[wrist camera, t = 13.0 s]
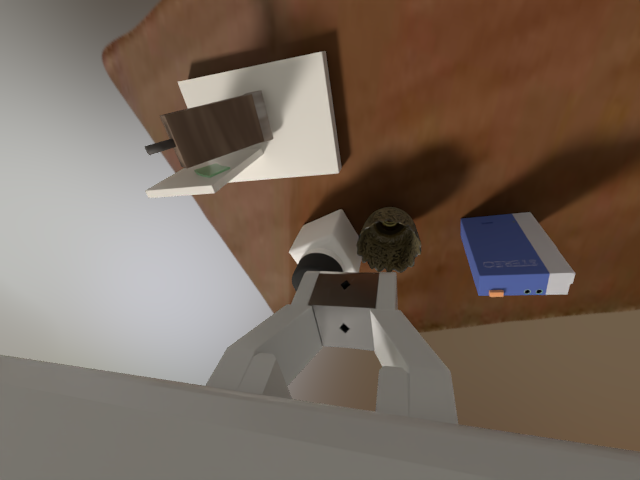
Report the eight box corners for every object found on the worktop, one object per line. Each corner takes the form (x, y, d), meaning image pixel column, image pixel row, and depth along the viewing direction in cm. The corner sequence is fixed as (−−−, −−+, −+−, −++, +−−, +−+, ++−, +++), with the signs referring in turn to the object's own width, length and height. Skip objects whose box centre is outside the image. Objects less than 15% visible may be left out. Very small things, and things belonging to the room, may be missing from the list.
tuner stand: (325, 51, 31) (282, 56, 20) (341, 167, 38) (315, 220, 27) (187, 80, 36) (91, 97, 25) (223, 178, 43) (160, 226, 32)
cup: (375, 183, 38) (370, 212, 32) (428, 203, 38) (433, 236, 31) (356, 227, 43) (347, 261, 36) (403, 245, 42) (403, 282, 36)
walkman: (460, 235, 39) (479, 298, 30) (460, 218, 38) (480, 278, 28) (528, 230, 37) (572, 297, 27) (531, 211, 35) (579, 274, 26)
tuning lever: (264, 89, 32) (135, 121, 25) (276, 138, 34) (163, 178, 28) (255, 90, 33) (130, 121, 26) (267, 137, 36) (157, 175, 29)
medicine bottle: (302, 224, 44) (274, 275, 35) (342, 207, 41) (323, 257, 32) (325, 259, 47) (305, 315, 38) (364, 245, 44) (354, 302, 34)
